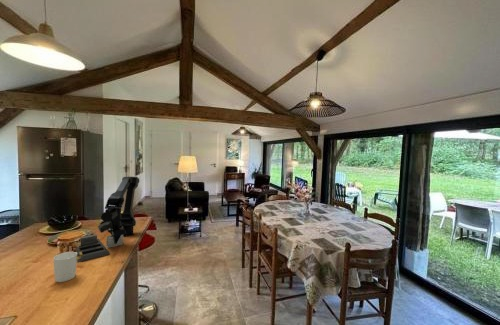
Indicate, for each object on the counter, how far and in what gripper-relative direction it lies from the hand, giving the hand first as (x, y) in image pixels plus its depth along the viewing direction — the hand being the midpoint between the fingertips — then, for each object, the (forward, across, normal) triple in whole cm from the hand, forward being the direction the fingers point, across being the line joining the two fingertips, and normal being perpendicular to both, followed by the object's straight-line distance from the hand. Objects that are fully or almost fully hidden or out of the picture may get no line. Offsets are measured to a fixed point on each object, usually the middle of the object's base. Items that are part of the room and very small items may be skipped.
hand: (114, 242), depth 131 cm
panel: (+2, 0, 0) cm, 2 cm away
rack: (+2, 0, -12) cm, 12 cm away
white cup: (+2, +24, -25) cm, 35 cm away
